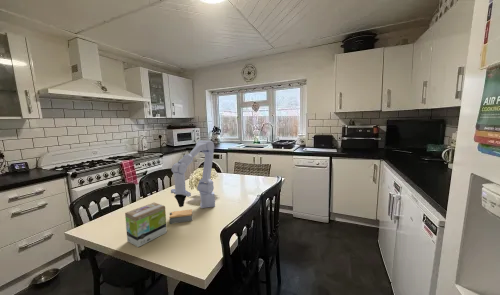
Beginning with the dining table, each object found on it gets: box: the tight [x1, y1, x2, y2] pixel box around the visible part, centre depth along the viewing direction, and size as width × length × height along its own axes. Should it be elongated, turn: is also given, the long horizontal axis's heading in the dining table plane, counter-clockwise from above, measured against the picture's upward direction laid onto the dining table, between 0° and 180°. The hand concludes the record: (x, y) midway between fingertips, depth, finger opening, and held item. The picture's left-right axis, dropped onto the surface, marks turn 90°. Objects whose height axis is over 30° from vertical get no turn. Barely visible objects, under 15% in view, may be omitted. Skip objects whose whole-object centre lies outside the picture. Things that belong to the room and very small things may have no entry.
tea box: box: [124, 202, 167, 248], centre depth 99 cm, size 15×10×15 cm
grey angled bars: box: [169, 214, 193, 225], centre depth 117 cm, size 12×7×3 cm, turn 105°
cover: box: [168, 209, 193, 219], centre depth 117 cm, size 12×7×1 cm, turn 104°
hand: (181, 206), depth 118 cm, fingers closed
